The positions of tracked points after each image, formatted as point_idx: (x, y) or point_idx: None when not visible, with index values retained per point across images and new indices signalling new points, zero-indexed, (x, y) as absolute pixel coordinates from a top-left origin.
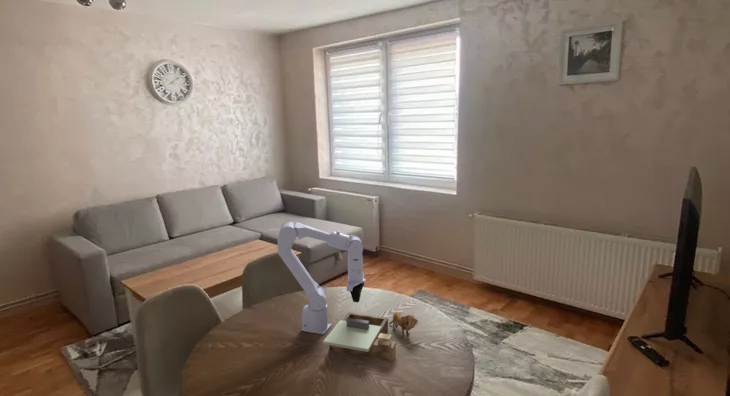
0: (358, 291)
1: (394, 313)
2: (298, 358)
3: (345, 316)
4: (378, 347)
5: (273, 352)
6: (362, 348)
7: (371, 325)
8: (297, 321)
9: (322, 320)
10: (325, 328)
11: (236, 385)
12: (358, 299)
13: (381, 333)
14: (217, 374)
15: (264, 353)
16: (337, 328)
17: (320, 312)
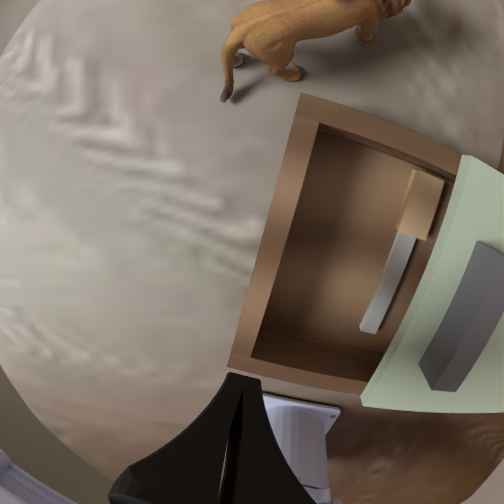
0: (295, 485)
1: (263, 38)
2: (460, 426)
3: (284, 380)
4: None
5: (411, 473)
6: None
7: (457, 225)
8: None
9: (321, 451)
10: (309, 413)
11: (492, 466)
12: (263, 399)
13: None
14: (449, 496)
15: (409, 482)
16: (445, 399)
17: (327, 488)
